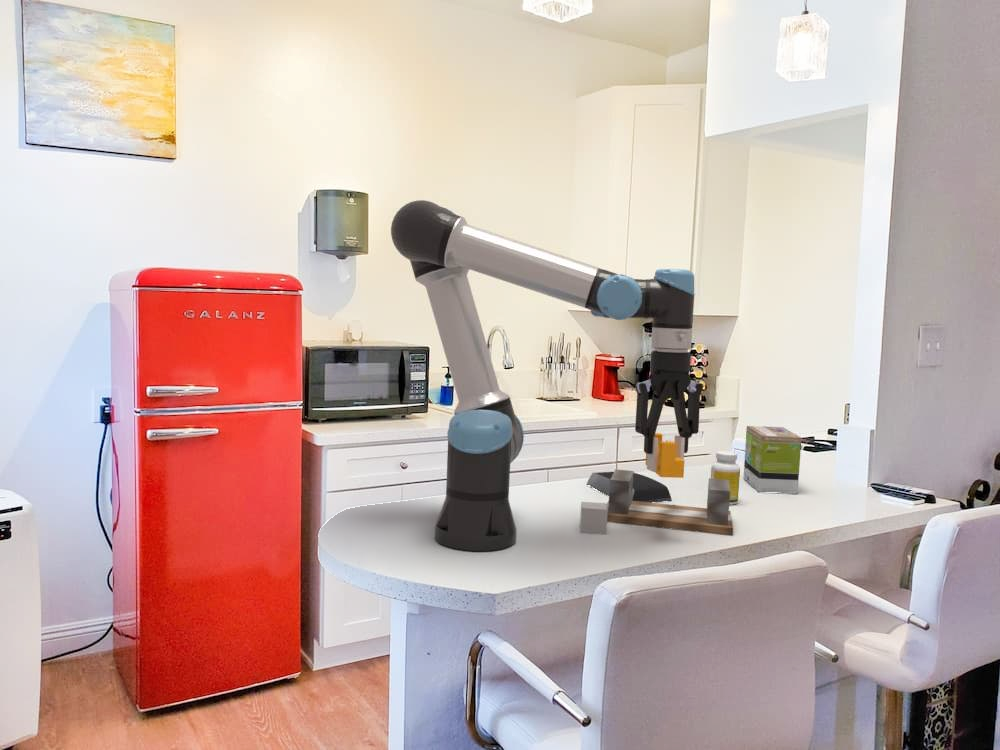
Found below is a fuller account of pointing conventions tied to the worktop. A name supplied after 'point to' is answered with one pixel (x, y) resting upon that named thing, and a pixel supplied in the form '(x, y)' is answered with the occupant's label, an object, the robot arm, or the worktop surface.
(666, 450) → the pipe clamp
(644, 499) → the dark piece
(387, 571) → the worktop surface
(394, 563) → the worktop surface
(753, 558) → the worktop surface
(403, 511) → the worktop surface
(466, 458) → the robot arm
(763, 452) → the tea box
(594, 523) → the block
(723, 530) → the rail board
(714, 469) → the pill bottle
